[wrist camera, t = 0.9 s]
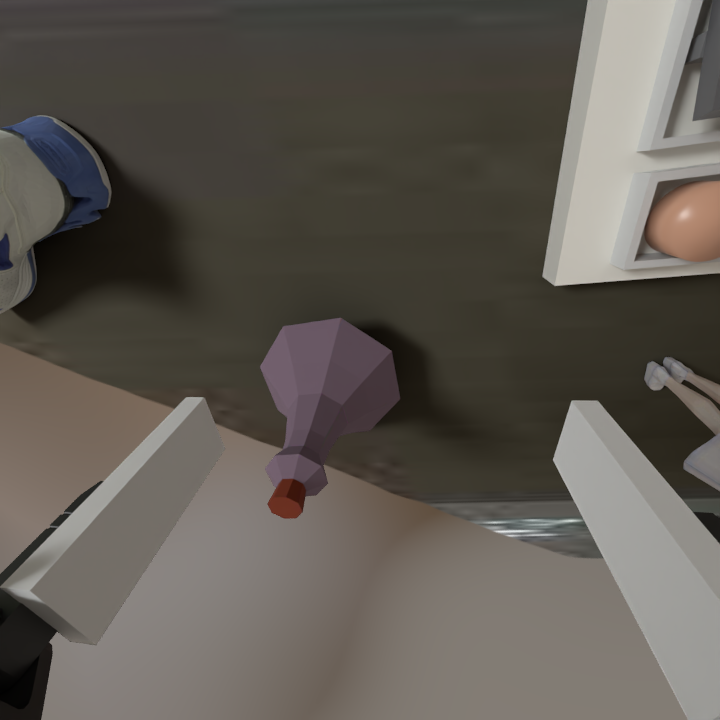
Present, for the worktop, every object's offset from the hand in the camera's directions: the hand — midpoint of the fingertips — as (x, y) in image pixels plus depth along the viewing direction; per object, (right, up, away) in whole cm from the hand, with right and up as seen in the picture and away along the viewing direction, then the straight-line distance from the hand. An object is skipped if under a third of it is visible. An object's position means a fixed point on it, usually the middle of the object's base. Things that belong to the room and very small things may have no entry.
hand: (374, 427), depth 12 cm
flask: (-3, +2, +28) cm, 28 cm away
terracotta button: (+24, +13, +12) cm, 30 cm away
